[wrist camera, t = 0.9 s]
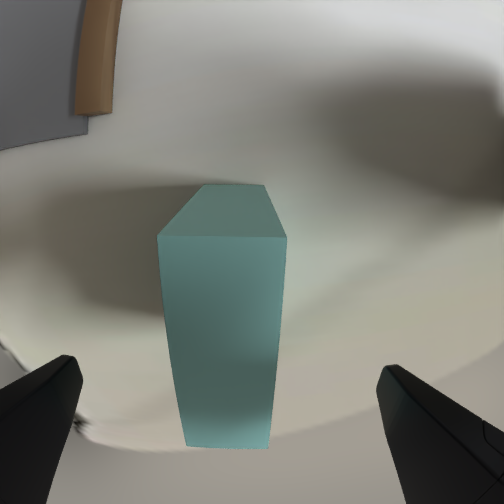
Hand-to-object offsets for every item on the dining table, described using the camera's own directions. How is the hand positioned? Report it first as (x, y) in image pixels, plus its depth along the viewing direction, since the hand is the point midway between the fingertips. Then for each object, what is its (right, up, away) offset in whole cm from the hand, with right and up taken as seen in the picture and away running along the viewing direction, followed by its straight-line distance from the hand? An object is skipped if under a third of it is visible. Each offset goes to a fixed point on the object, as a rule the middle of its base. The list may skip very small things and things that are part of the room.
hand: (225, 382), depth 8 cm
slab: (0, +3, +9) cm, 10 cm away
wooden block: (-7, +16, +4) cm, 18 cm away
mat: (-14, +17, +4) cm, 22 cm away
